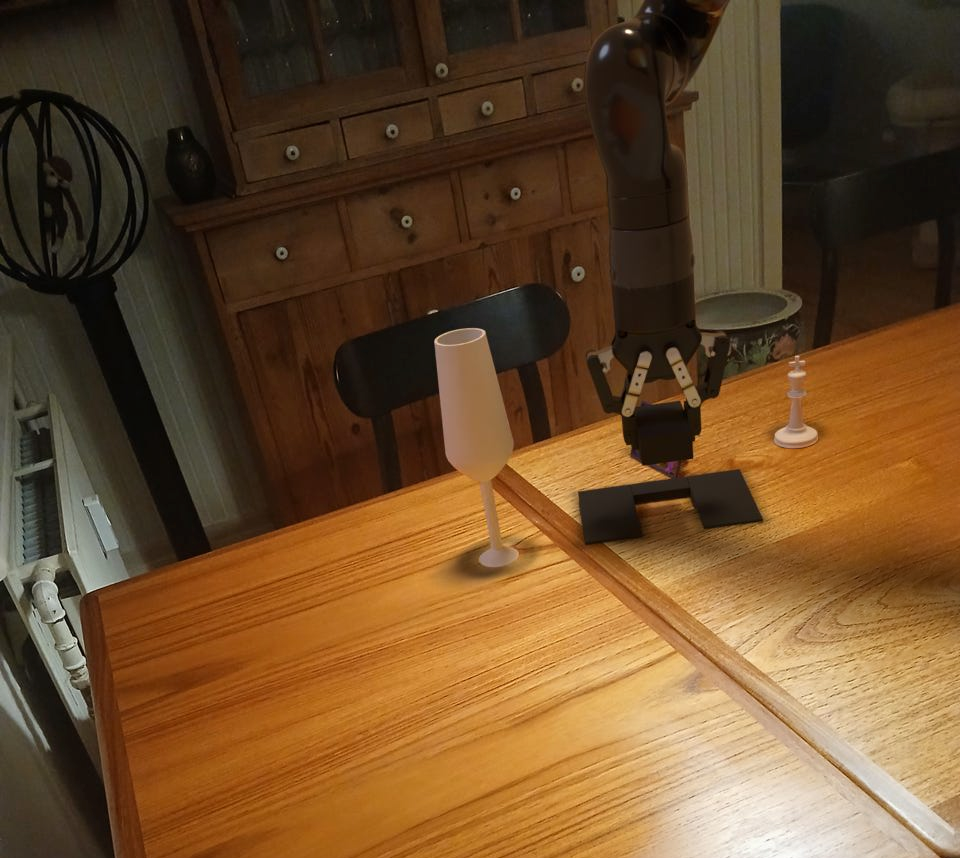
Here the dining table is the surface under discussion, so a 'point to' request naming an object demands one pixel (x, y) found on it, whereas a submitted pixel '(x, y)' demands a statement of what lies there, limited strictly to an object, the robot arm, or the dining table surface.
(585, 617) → the dining table surface
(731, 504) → the notched mat
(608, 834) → the dining table surface
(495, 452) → the champagne flute
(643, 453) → the small pad
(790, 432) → the chess piece
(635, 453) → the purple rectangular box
